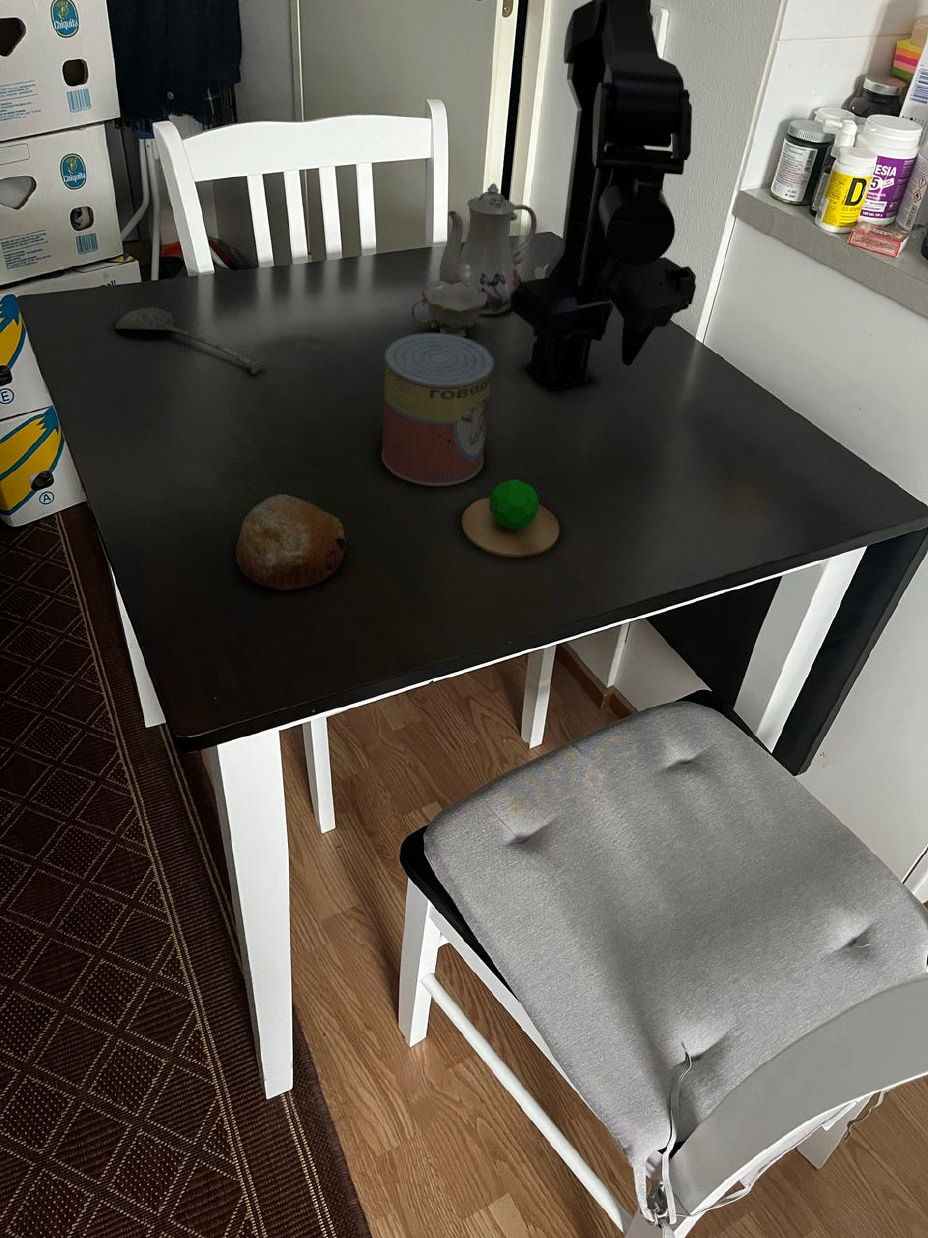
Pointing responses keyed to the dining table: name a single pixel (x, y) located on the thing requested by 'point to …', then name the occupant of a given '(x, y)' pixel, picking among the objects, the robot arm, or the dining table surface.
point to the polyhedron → (514, 504)
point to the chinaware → (478, 266)
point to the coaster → (509, 532)
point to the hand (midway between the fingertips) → (591, 371)
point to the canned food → (435, 408)
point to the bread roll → (289, 544)
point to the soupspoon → (173, 330)
